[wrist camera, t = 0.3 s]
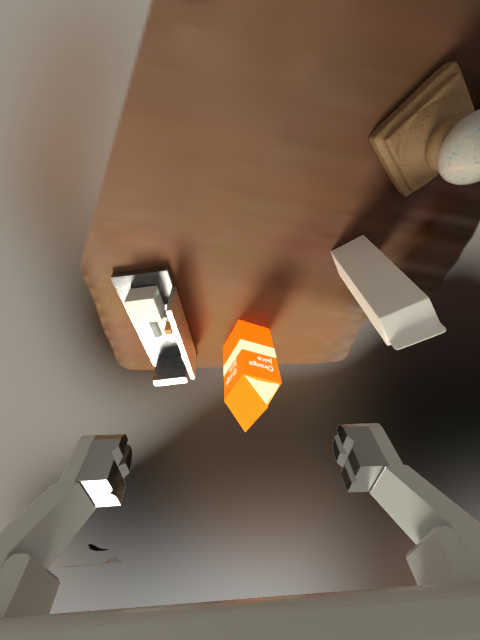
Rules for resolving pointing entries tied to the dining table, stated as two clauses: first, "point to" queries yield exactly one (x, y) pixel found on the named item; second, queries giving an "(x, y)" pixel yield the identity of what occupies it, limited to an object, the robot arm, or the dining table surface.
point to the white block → (146, 307)
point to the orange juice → (249, 372)
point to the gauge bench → (162, 327)
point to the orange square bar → (168, 328)
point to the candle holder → (431, 134)
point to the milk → (386, 294)
